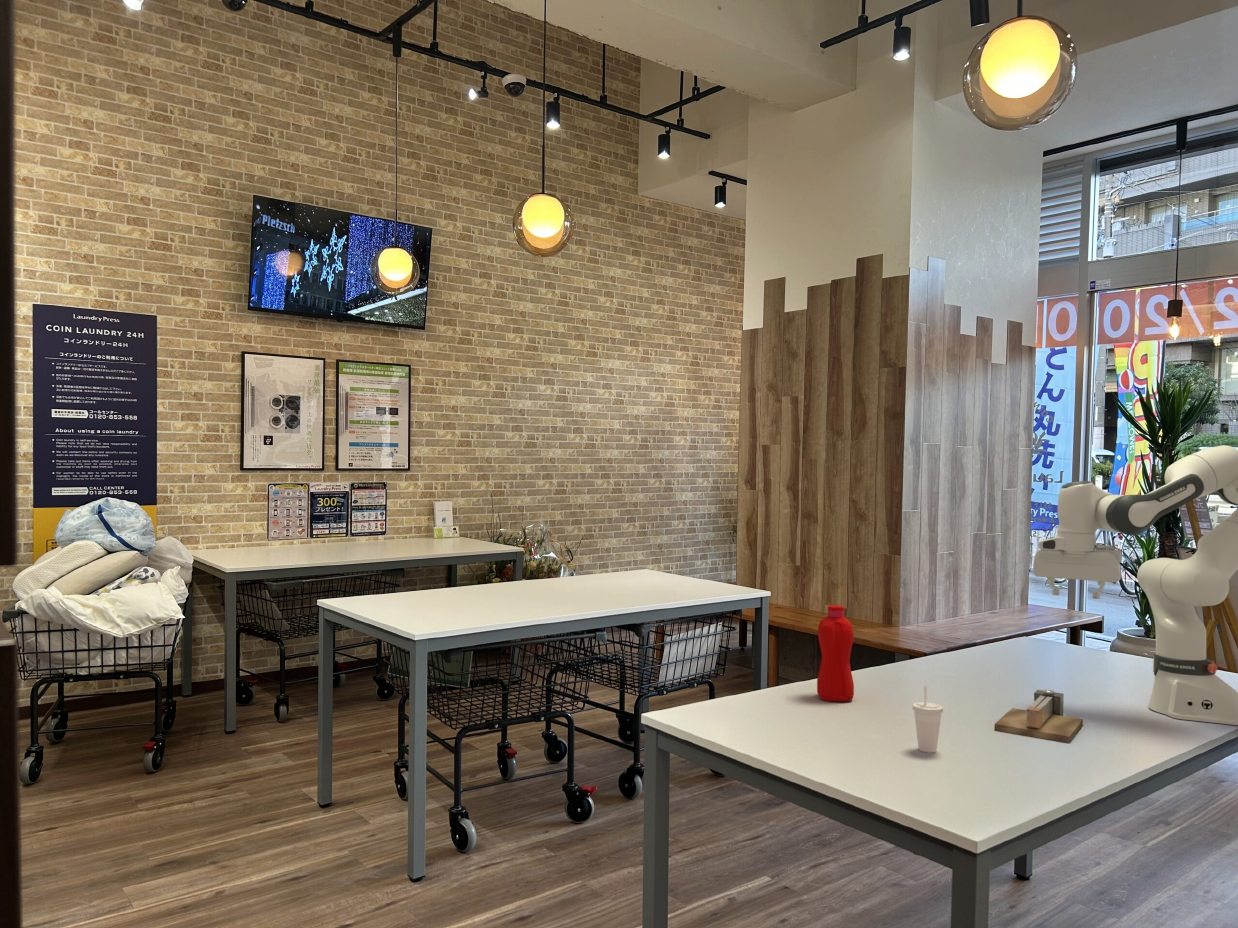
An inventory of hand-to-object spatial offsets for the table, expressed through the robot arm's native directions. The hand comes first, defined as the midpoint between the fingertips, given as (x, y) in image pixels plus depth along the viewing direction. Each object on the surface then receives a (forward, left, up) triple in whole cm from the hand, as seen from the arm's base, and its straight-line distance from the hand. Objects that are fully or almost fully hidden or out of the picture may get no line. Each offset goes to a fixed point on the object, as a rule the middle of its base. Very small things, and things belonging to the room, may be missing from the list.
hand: (1075, 596), depth 229 cm
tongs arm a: (+3, +23, -27) cm, 36 cm away
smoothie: (+20, +58, -29) cm, 68 cm away
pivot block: (+4, +13, -29) cm, 32 cm away
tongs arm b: (+5, +24, -27) cm, 36 cm away
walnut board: (+4, +24, -29) cm, 38 cm away
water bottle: (+54, +28, -29) cm, 67 cm away
